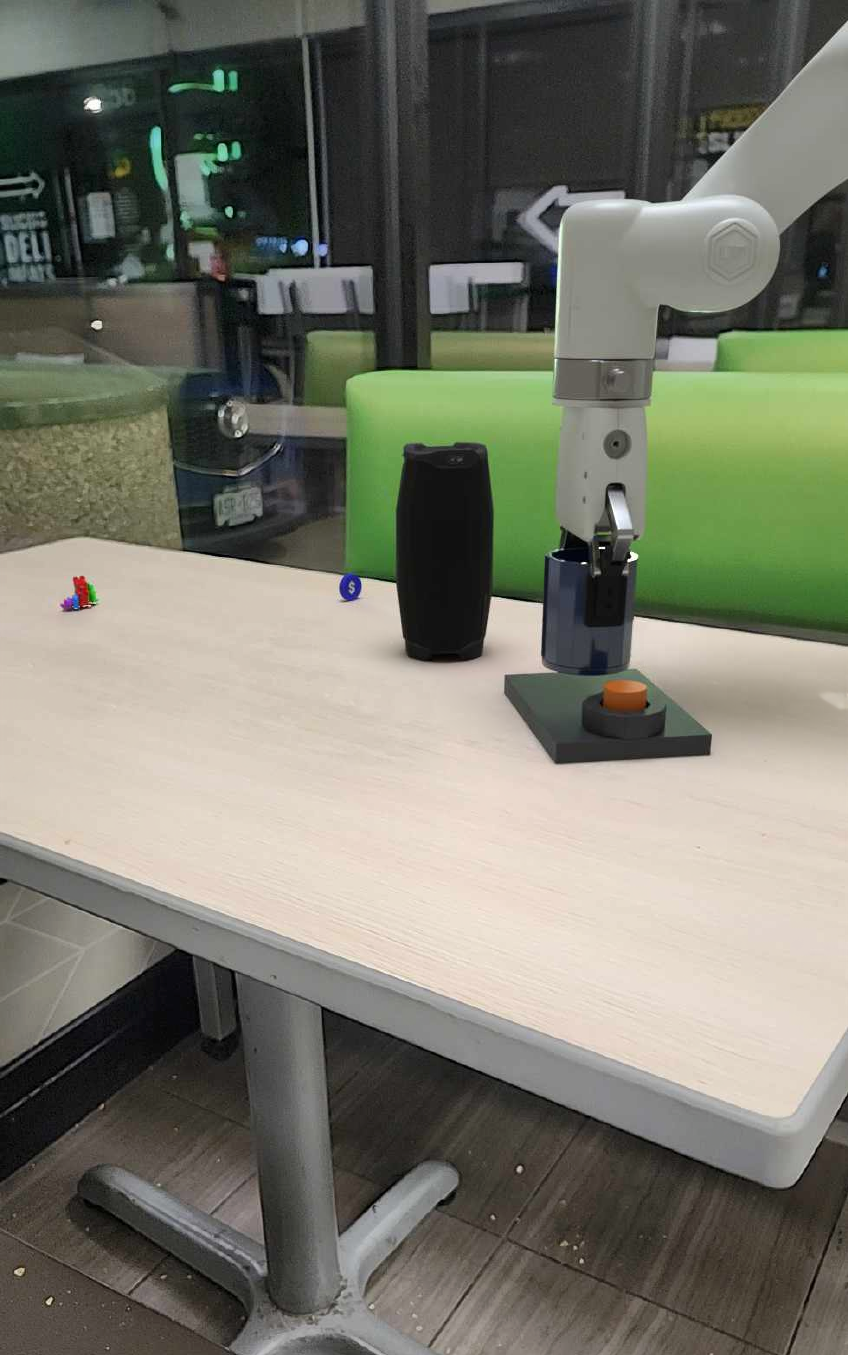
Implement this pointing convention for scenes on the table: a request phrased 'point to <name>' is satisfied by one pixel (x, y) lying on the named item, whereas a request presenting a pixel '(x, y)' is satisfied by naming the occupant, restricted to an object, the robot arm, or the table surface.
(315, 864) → the table surface
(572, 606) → the blue cup
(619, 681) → the switch
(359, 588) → the coin
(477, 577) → the portable speaker
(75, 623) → the table surface
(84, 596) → the colorful small pieces
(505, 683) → the push button base
